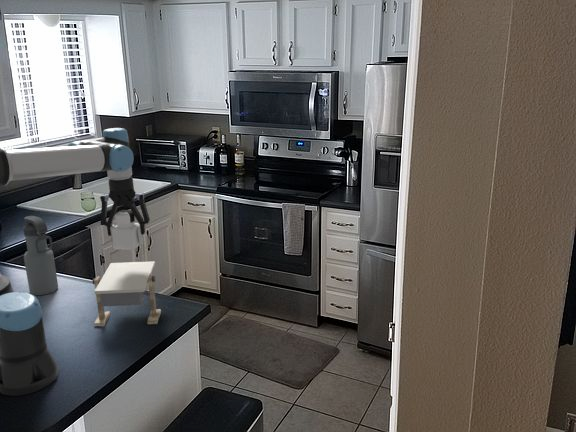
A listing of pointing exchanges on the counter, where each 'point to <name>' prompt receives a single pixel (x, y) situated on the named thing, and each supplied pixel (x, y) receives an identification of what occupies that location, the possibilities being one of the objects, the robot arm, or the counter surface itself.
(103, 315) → the flap stand
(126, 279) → the trapdoor flap
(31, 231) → the water bottle
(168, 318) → the counter surface
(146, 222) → the robot arm
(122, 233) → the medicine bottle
